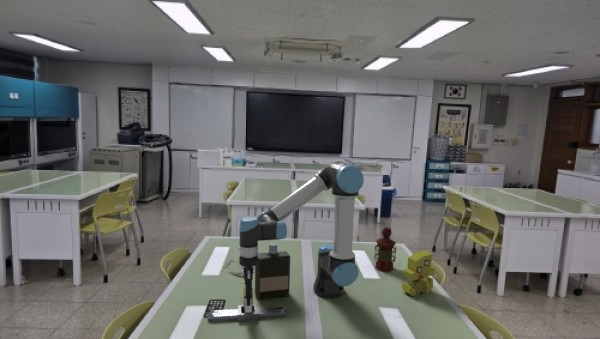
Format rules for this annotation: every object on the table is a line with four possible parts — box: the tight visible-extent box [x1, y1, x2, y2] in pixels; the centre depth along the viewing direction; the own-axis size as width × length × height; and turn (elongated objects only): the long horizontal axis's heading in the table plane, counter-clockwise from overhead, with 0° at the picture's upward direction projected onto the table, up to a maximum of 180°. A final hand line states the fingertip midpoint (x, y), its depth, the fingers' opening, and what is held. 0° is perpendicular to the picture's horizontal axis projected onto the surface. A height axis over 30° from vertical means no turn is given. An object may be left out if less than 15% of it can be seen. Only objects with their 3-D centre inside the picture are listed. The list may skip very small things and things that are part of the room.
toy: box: [401, 249, 436, 297], centre depth 181 cm, size 16×6×20 cm, turn 115°
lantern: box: [373, 216, 397, 273], centre depth 209 cm, size 12×12×30 cm
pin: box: [242, 286, 254, 313], centre depth 155 cm, size 4×4×12 cm
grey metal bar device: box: [207, 303, 287, 323], centre depth 155 cm, size 33×8×3 cm, turn 100°
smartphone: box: [203, 298, 226, 319], centre depth 161 cm, size 7×1×15 cm
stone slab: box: [223, 258, 255, 277], centre depth 212 cm, size 27×33×1 cm
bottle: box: [254, 242, 291, 300], centre depth 174 cm, size 8×16×25 cm, turn 106°
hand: (247, 305), depth 155 cm, fingers open, 9 cm apart
